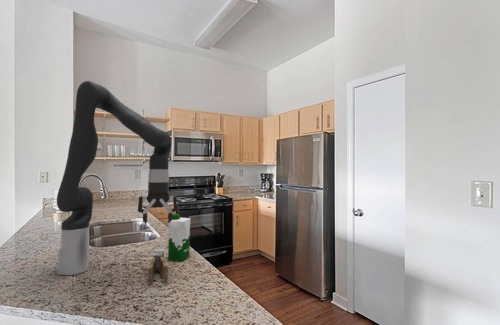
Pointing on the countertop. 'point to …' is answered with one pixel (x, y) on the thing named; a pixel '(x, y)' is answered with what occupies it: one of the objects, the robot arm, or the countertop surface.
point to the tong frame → (154, 265)
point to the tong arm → (162, 268)
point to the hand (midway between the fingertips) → (157, 222)
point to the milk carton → (179, 238)
